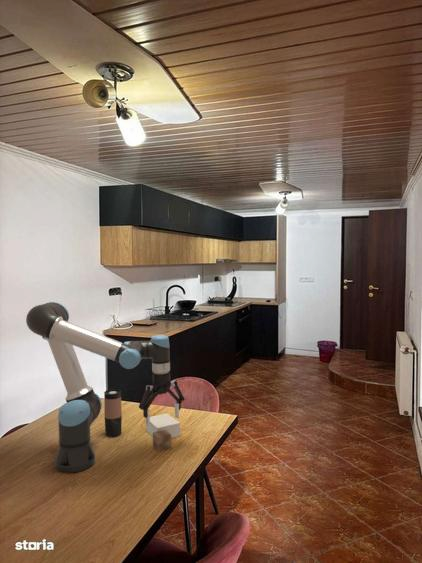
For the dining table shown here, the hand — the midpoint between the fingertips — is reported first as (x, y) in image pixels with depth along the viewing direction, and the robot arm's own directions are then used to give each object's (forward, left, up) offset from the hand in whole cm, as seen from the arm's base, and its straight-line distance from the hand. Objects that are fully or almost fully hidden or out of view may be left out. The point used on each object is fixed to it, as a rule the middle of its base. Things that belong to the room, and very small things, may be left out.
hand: (162, 421), depth 171 cm
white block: (+6, +13, -11) cm, 18 cm away
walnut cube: (0, 0, -11) cm, 11 cm away
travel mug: (-14, +24, -12) cm, 30 cm away
